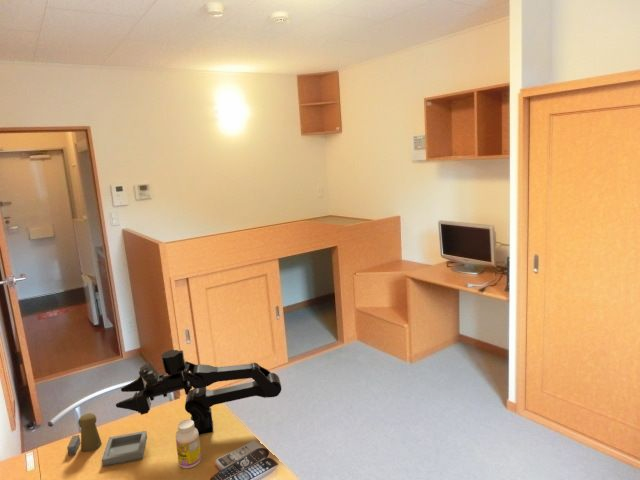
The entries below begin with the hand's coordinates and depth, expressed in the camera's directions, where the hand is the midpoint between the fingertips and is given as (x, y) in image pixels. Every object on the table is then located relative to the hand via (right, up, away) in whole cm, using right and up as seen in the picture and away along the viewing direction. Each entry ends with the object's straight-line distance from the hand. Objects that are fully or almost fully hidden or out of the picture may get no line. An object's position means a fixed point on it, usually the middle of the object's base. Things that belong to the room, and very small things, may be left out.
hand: (118, 397), depth 143 cm
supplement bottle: (+25, -17, -8) cm, 31 cm away
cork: (-10, -17, +2) cm, 20 cm away
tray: (+3, -17, -1) cm, 17 cm away
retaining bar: (-15, -17, +1) cm, 23 cm away
